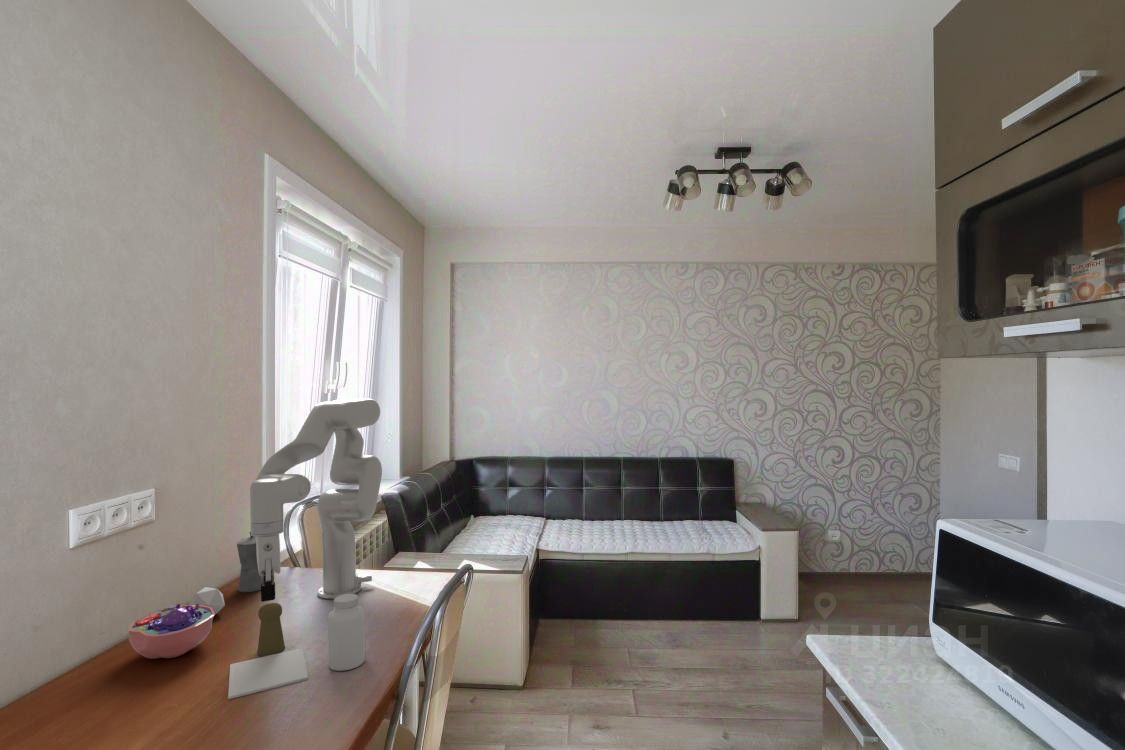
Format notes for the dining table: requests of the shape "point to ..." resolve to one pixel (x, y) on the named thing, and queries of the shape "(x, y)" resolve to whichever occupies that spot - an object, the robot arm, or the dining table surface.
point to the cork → (270, 630)
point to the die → (209, 599)
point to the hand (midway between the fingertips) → (268, 599)
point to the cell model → (171, 630)
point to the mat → (266, 673)
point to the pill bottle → (346, 633)
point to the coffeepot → (248, 565)
